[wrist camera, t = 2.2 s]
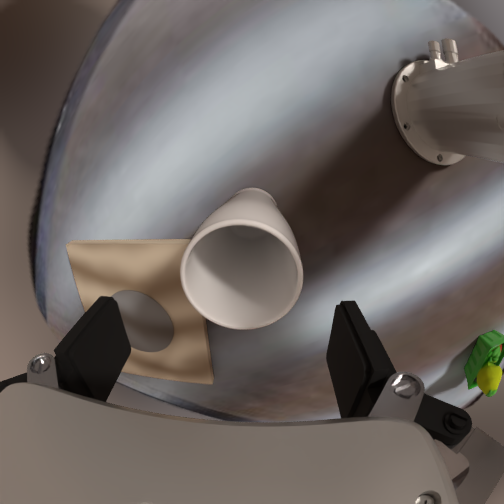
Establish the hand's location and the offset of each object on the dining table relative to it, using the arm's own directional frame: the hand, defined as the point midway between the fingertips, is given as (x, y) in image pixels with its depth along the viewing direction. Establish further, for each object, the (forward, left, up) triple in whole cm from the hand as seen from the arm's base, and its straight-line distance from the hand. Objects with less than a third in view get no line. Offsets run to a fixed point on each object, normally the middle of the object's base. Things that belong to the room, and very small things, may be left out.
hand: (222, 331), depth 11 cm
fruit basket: (+25, +44, -19) cm, 54 cm away
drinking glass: (0, 0, -19) cm, 19 cm away
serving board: (+14, -15, -19) cm, 27 cm away
